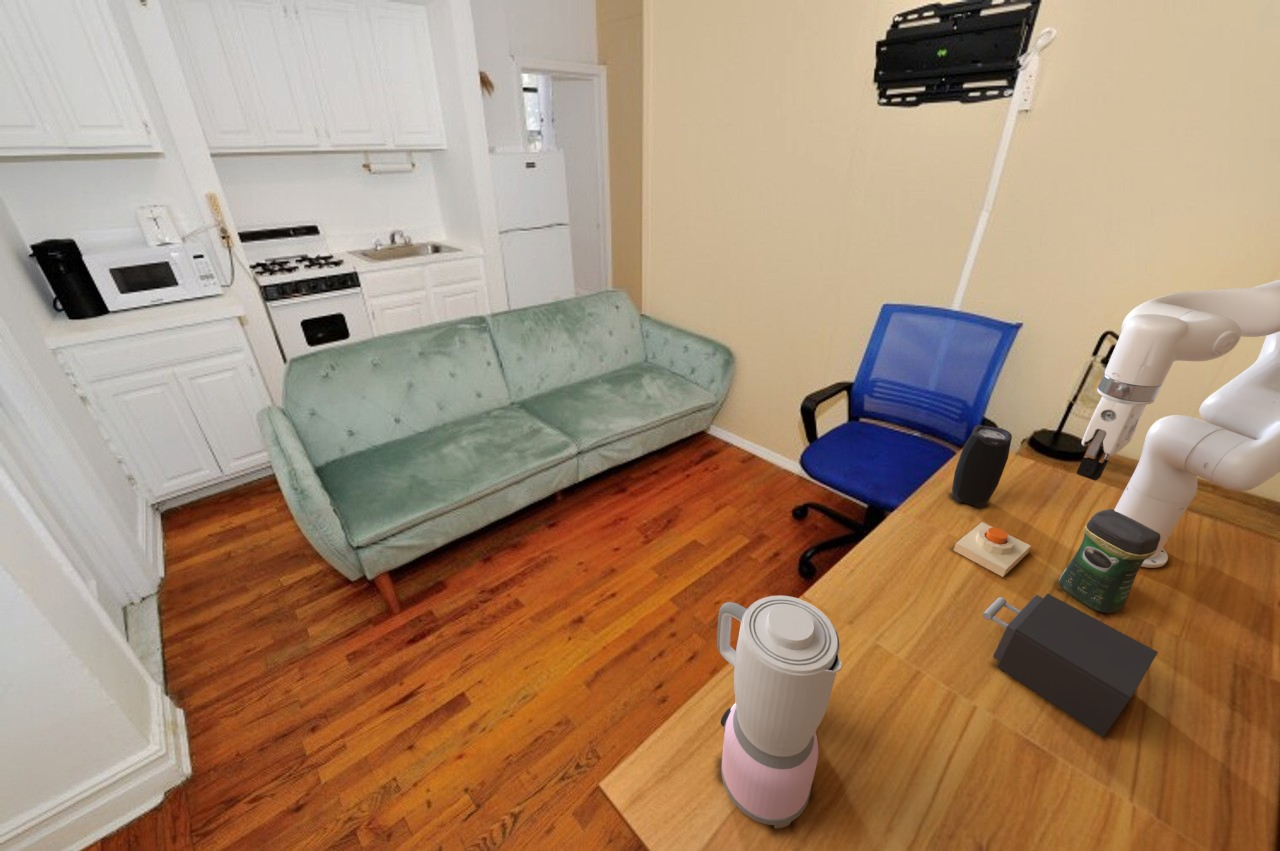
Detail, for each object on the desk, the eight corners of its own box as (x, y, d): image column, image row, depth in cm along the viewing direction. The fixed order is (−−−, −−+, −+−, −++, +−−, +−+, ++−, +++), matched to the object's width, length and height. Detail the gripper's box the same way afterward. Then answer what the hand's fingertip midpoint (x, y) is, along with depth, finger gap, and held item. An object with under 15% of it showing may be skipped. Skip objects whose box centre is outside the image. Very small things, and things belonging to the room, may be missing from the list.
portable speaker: (940, 490, 131) (961, 424, 122) (975, 488, 131) (998, 422, 122) (961, 511, 123) (986, 441, 114) (998, 508, 124) (1025, 439, 115)
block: (979, 529, 117) (984, 515, 115) (1027, 553, 110) (1034, 539, 108) (953, 550, 111) (958, 536, 109) (1002, 577, 104) (1009, 562, 102)
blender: (826, 780, 71) (870, 622, 56) (779, 854, 64) (816, 696, 48) (734, 704, 81) (751, 553, 66) (685, 761, 74) (691, 605, 58)
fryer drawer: (967, 640, 90) (980, 609, 86) (996, 610, 96) (1009, 579, 92) (1088, 719, 77) (1109, 687, 73) (1113, 679, 83) (1135, 647, 79)
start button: (990, 531, 111) (992, 525, 110) (1008, 540, 109) (1011, 534, 108) (982, 538, 109) (985, 531, 108) (1000, 547, 107) (1003, 540, 106)
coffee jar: (1129, 608, 96) (1176, 533, 88) (1100, 619, 94) (1145, 543, 85) (1076, 573, 104) (1114, 501, 96) (1049, 583, 102) (1085, 510, 94)
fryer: (997, 667, 86) (1015, 628, 81) (1028, 630, 92) (1047, 593, 88) (1103, 737, 75) (1131, 697, 71) (1130, 691, 82) (1158, 651, 77)
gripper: (1141, 407, 80) (1096, 500, 89) (1171, 383, 87) (1127, 471, 96) (1084, 392, 86) (1047, 480, 95) (1116, 370, 93) (1080, 454, 102)
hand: (1087, 475), depth 95 cm, fingers closed
